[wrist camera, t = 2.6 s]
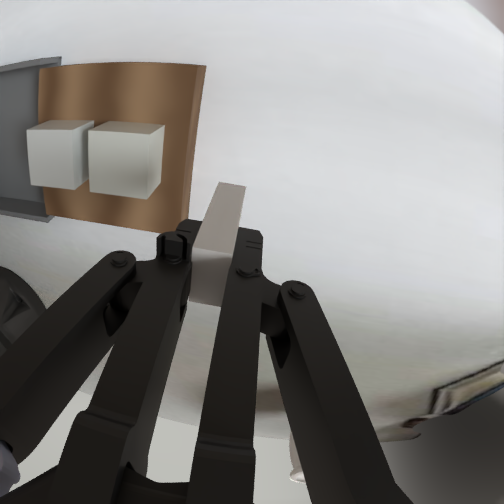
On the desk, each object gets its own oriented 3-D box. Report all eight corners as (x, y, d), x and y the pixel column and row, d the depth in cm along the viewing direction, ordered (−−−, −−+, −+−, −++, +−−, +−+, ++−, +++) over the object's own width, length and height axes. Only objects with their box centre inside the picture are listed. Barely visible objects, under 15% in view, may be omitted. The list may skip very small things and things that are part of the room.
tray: (-5, 197, 30) (-21, 210, 27) (-14, 70, 20) (-34, 75, 18) (63, 207, 31) (47, 222, 28) (61, 56, 21) (40, 58, 18)
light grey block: (51, 170, 24) (31, 185, 21) (49, 120, 22) (26, 129, 19) (94, 174, 25) (74, 190, 22) (94, 120, 22) (72, 130, 19)
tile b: (108, 176, 25) (89, 191, 22) (109, 121, 22) (88, 130, 19) (160, 182, 25) (146, 199, 22) (164, 124, 22) (149, 134, 19)
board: (62, 199, 30) (46, 214, 27) (60, 65, 22) (39, 68, 19) (187, 218, 31) (179, 236, 28) (206, 65, 23) (197, 65, 20)
